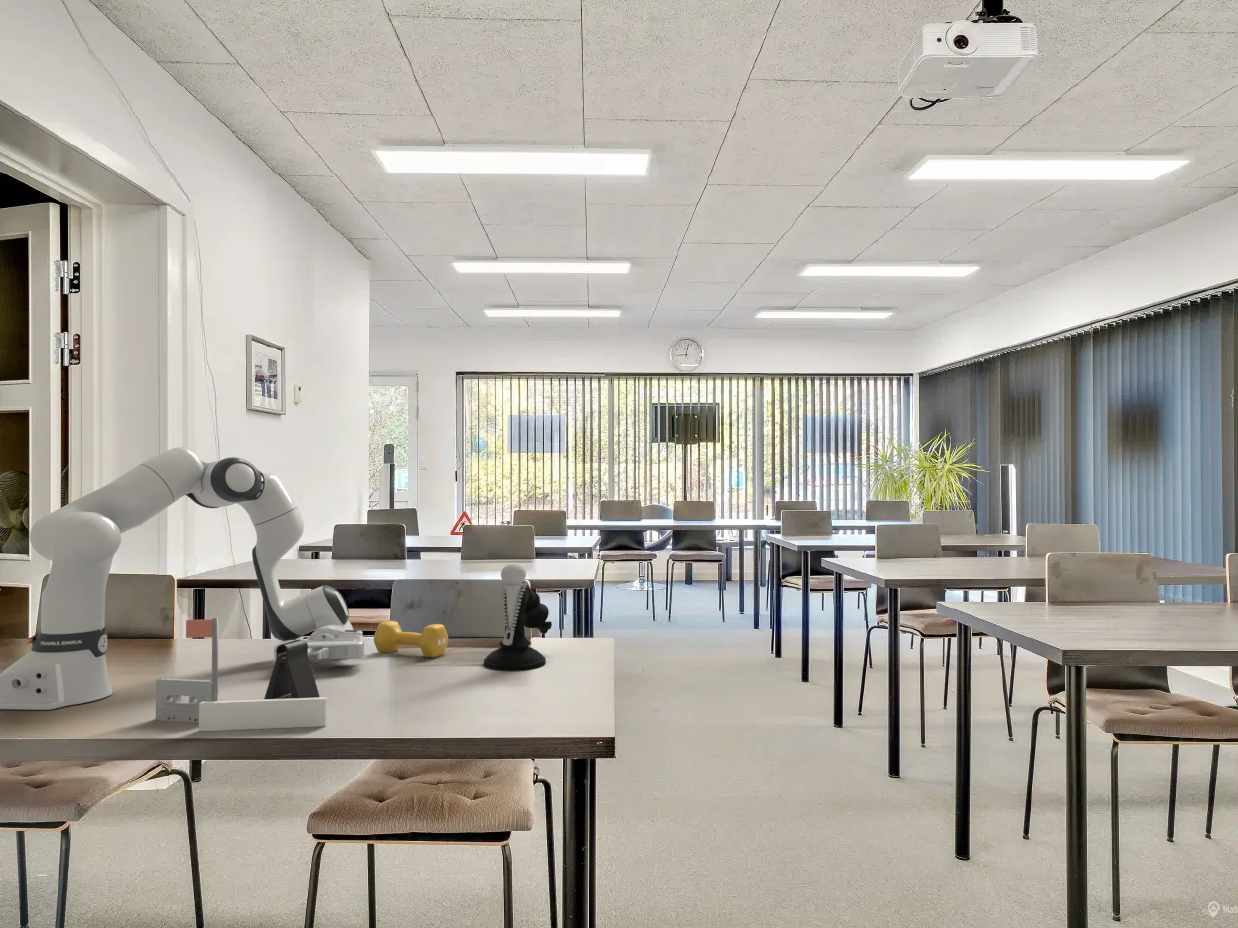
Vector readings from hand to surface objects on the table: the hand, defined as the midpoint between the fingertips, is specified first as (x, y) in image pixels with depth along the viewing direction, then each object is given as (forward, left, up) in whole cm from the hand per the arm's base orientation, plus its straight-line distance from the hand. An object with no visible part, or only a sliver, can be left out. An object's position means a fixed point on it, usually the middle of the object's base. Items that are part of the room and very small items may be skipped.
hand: (313, 656), depth 185 cm
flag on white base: (-1, -31, -5) cm, 32 cm away
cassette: (-16, -31, -5) cm, 35 cm away
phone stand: (0, -19, -5) cm, 19 cm away
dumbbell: (+19, +24, -5) cm, 31 cm away
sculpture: (+48, +12, -5) cm, 50 cm away
